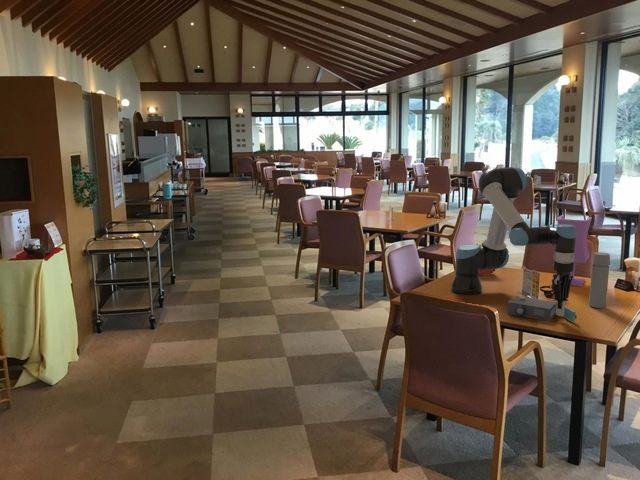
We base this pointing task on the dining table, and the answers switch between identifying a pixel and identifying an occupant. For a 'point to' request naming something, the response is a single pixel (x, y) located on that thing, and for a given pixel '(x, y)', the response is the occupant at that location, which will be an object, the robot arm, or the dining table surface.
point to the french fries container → (486, 270)
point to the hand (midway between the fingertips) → (560, 315)
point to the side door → (569, 314)
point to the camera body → (532, 308)
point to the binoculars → (549, 292)
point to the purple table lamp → (578, 244)
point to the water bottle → (599, 280)
